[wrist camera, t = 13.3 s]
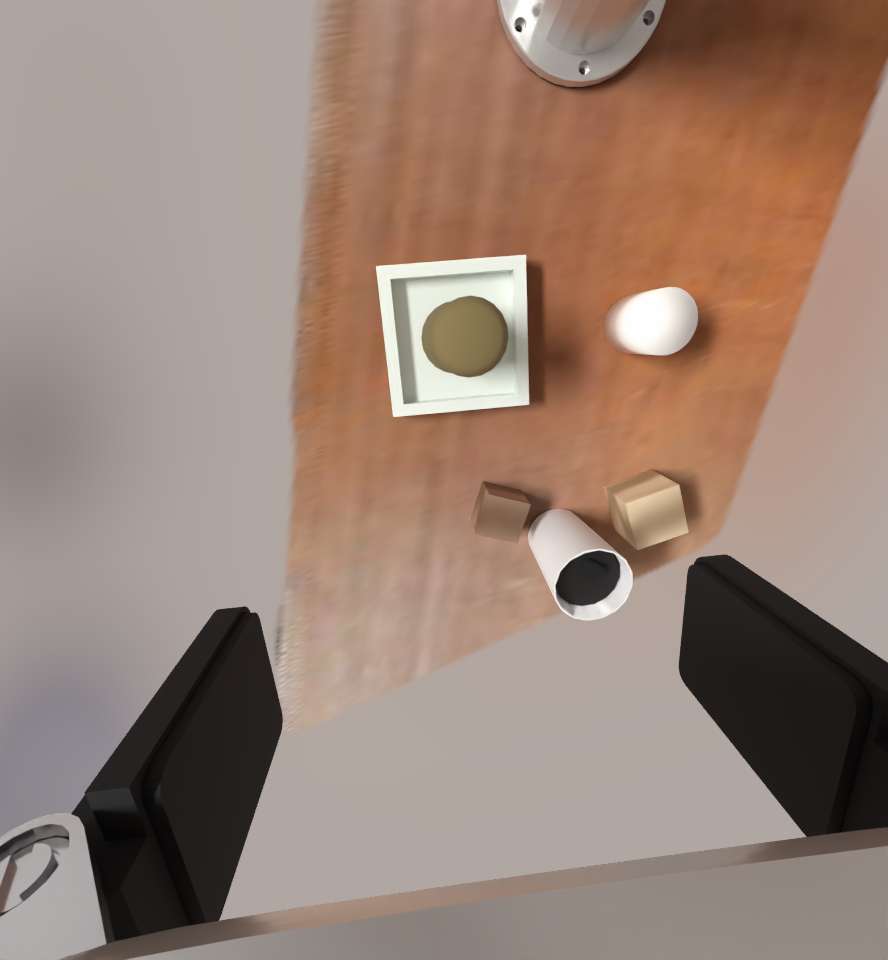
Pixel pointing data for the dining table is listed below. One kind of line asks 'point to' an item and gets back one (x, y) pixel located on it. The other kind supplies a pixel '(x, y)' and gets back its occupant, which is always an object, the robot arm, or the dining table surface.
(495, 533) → the walnut block
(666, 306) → the white rounded cylinder
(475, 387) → the tray
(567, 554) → the drinking glass
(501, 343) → the olive rounded tall piece
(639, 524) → the oak block
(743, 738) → the robot arm
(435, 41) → the dining table surface
